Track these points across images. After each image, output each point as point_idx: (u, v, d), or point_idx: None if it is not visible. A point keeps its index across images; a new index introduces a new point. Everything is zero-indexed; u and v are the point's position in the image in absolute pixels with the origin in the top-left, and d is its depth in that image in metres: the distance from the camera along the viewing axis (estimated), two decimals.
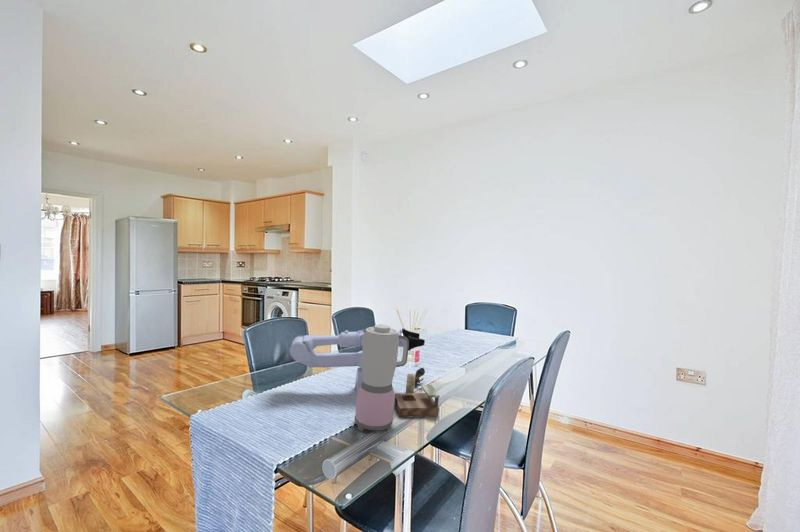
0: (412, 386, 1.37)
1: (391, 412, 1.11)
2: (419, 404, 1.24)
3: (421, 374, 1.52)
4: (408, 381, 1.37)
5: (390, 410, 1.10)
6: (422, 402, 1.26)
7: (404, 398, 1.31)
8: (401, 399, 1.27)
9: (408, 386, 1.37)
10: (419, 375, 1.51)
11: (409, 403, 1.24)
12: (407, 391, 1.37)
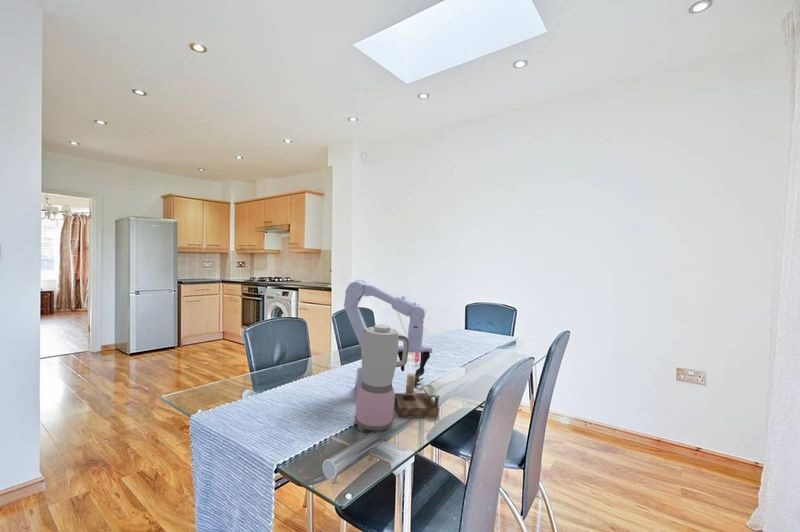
0: (412, 386, 1.37)
1: (391, 412, 1.11)
2: (419, 404, 1.24)
3: (421, 374, 1.53)
4: (408, 381, 1.37)
5: (390, 410, 1.10)
6: (422, 402, 1.26)
7: (404, 398, 1.31)
8: (401, 399, 1.27)
9: (408, 386, 1.37)
10: (419, 374, 1.52)
11: (409, 403, 1.24)
12: (407, 391, 1.37)
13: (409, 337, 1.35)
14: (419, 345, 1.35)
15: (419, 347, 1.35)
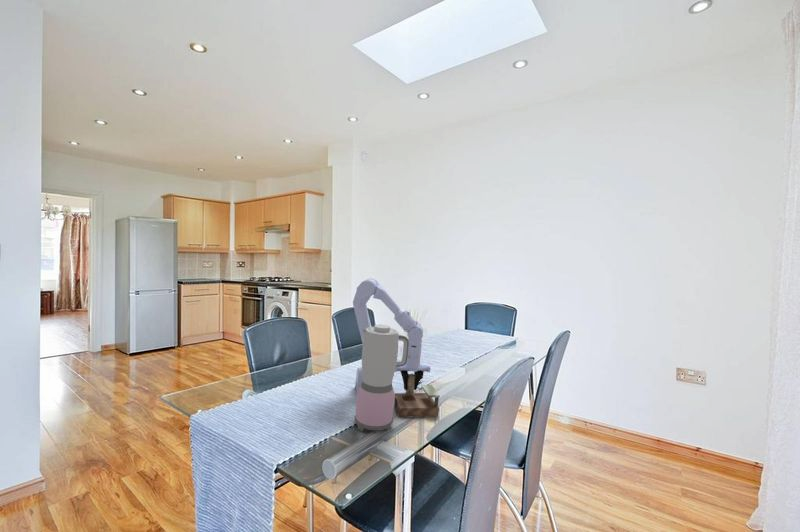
0: (412, 386, 1.37)
1: (391, 412, 1.11)
2: (419, 404, 1.24)
3: None
4: (408, 381, 1.37)
5: (390, 410, 1.10)
6: (422, 402, 1.26)
7: (404, 398, 1.31)
8: (401, 399, 1.27)
9: (408, 386, 1.37)
10: None
11: (409, 403, 1.24)
12: (407, 391, 1.37)
13: None
14: (417, 364, 1.35)
15: (417, 366, 1.36)
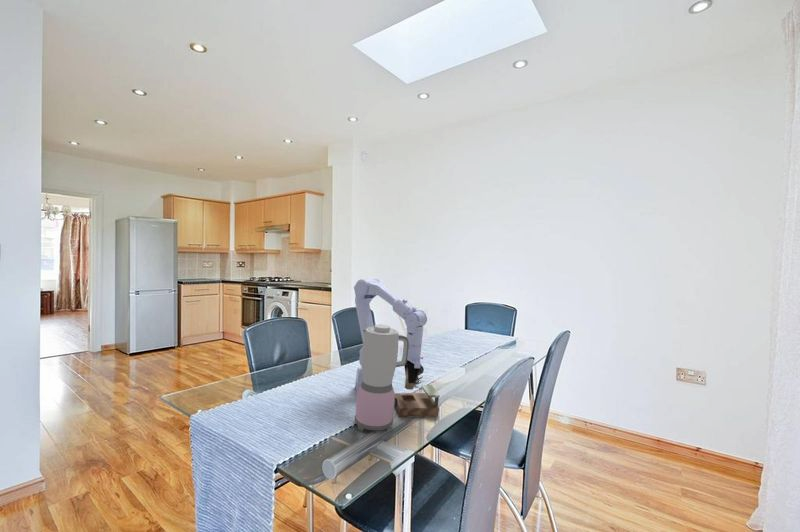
0: None
1: (391, 412, 1.11)
2: (419, 404, 1.24)
3: (420, 372, 1.54)
4: None
5: (390, 410, 1.10)
6: (422, 402, 1.26)
7: (404, 398, 1.31)
8: (401, 399, 1.27)
9: None
10: (418, 373, 1.53)
11: (409, 403, 1.24)
12: (412, 384, 1.27)
13: (418, 346, 1.25)
14: None
15: None
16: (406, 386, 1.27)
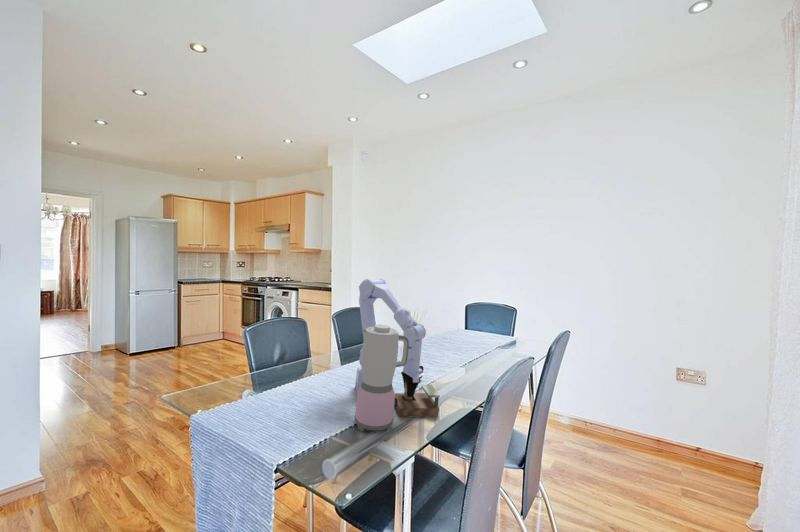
0: None
1: (391, 412, 1.11)
2: (419, 404, 1.24)
3: (420, 372, 1.55)
4: None
5: (390, 410, 1.10)
6: (422, 402, 1.26)
7: None
8: (401, 399, 1.27)
9: None
10: None
11: (409, 403, 1.24)
12: (411, 397, 1.27)
13: (417, 360, 1.26)
14: None
15: None
16: (405, 399, 1.28)
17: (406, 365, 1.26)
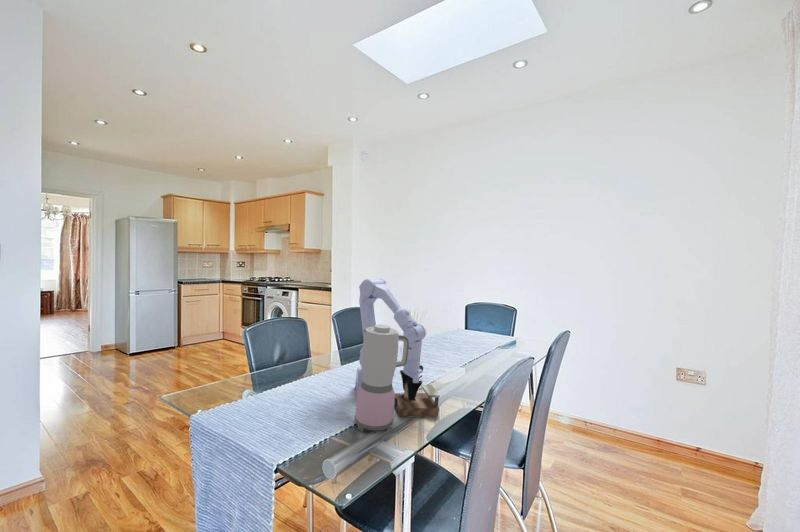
0: None
1: (391, 412, 1.11)
2: (419, 404, 1.24)
3: None
4: None
5: (390, 410, 1.10)
6: (422, 402, 1.26)
7: None
8: (401, 399, 1.27)
9: None
10: None
11: (409, 403, 1.24)
12: None
13: (417, 361, 1.26)
14: None
15: None
16: None
17: (406, 365, 1.26)
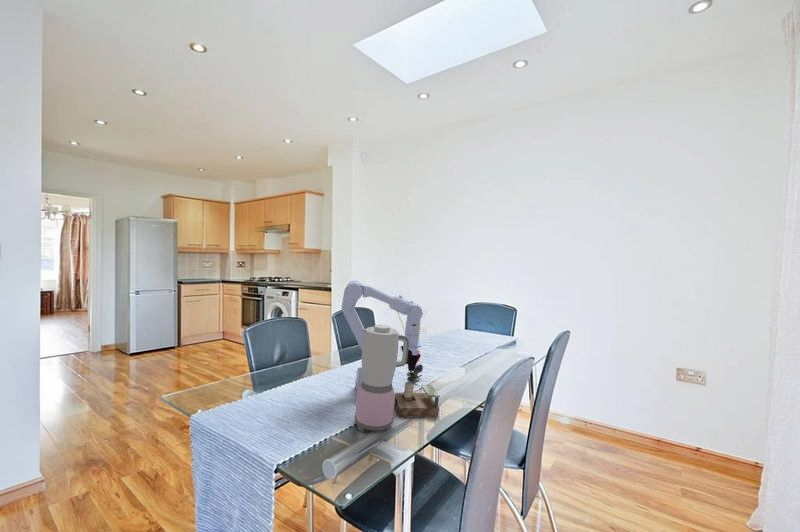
0: None
1: (391, 412, 1.11)
2: (419, 404, 1.24)
3: (419, 371, 1.56)
4: (411, 391, 1.27)
5: (390, 410, 1.10)
6: (422, 402, 1.26)
7: None
8: (401, 399, 1.27)
9: (411, 396, 1.28)
10: (417, 371, 1.55)
11: (409, 403, 1.24)
12: None
13: (416, 336, 1.38)
14: None
15: None
16: None
17: None
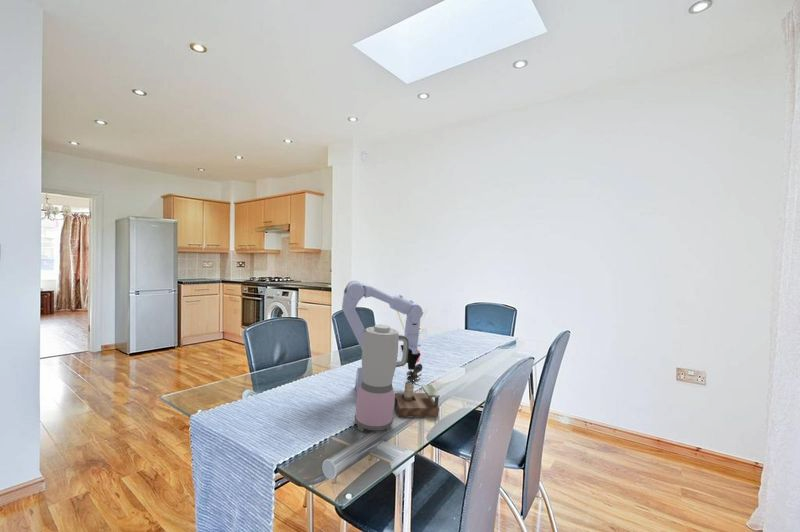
0: None
1: (391, 412, 1.11)
2: (419, 404, 1.24)
3: (419, 370, 1.57)
4: (411, 391, 1.27)
5: (390, 410, 1.10)
6: (422, 402, 1.26)
7: None
8: (401, 399, 1.27)
9: (411, 396, 1.28)
10: (417, 371, 1.56)
11: (409, 403, 1.24)
12: None
13: (416, 335, 1.40)
14: None
15: None
16: None
17: None
